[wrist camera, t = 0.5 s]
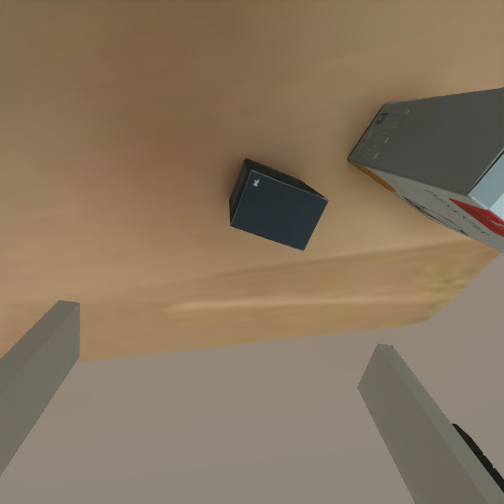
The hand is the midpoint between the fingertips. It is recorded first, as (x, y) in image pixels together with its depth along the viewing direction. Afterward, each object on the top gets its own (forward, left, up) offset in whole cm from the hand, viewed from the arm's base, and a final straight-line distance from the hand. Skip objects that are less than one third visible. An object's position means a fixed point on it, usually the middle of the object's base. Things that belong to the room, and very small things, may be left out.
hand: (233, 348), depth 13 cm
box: (-3, +4, -26) cm, 27 cm away
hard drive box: (-10, +21, -26) cm, 35 cm away
